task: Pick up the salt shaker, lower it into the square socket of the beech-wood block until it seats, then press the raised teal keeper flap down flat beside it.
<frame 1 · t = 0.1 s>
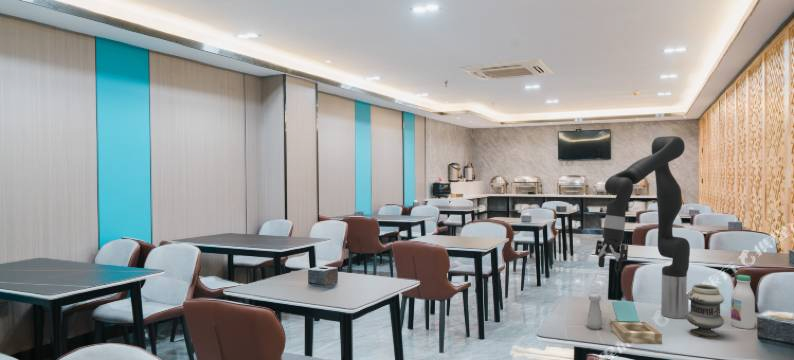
hand: (609, 269, 203), 23 cm above the table, tool pointing down, fingers open, 8 cm apart
socket block: (636, 337, 191), on the table
keeper flap: (625, 311, 202), point 6 cm above the table, hinge at 40.0°
apothecary jar: (704, 334, 195), on the table
milk bottle: (742, 326, 204), on the table
salt shaker: (594, 328, 202), on the table
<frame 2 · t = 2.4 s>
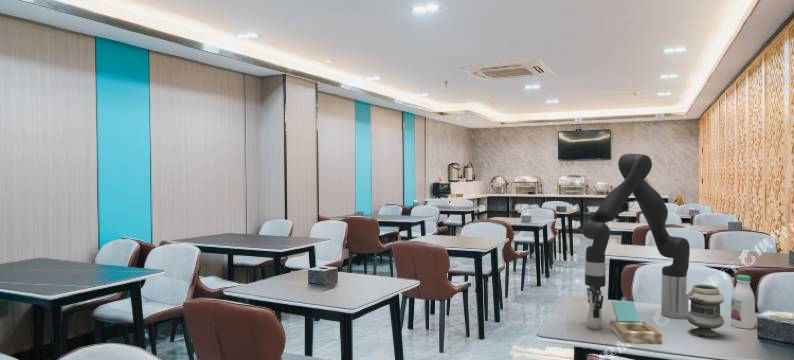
hand: (594, 317, 202), 4 cm above the table, tool pointing down, fingers closed on salt shaker, 3 cm apart
salt shaker: (594, 328, 202), on the table, touching gripper
everything else where it was.
when the fingers open (6 cm above the table, at t = 8.5 s): salt shaker drops 1 cm, resting in socket block.
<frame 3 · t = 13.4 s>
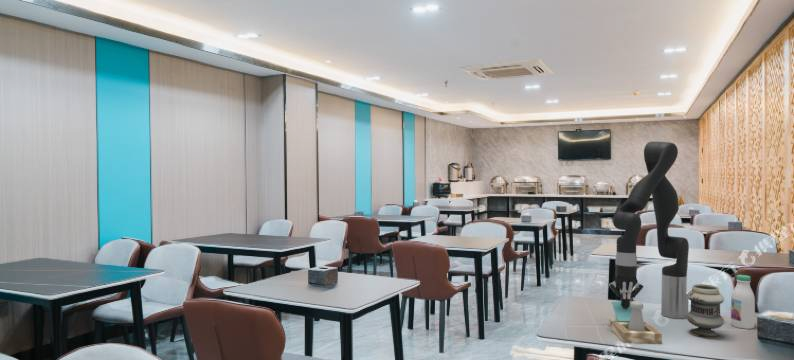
hand: (625, 308, 202), 8 cm above the table, tool pointing down, fingers closed
keeper flap: (625, 312, 202), point 6 cm above the table, hinge at 39.6°, touching gripper
salt shaker: (636, 337, 191), resting in socket block
everything else where it was.
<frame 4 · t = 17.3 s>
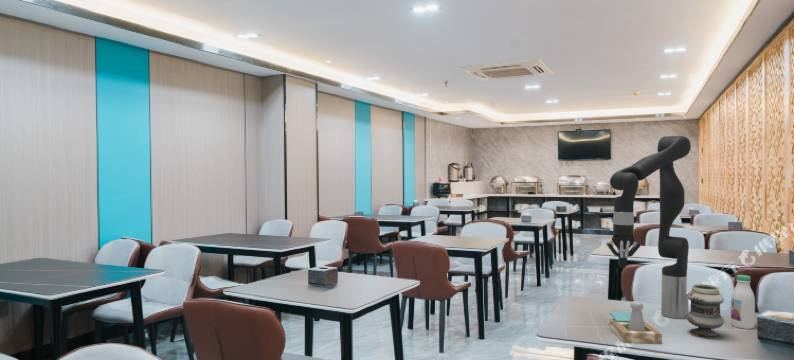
hand: (622, 266, 205), 23 cm above the table, tool pointing down, fingers closed
keeper flap: (624, 317, 203), point 4 cm above the table, hinge at 6.3°
everything else where it was.
at the end: salt shaker 0.1 cm off-centre on the socket block, point 0.0 cm above the socket block's base; salt shaker tilted 0°; keeper flap at +6° (first picture: +40°) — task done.
